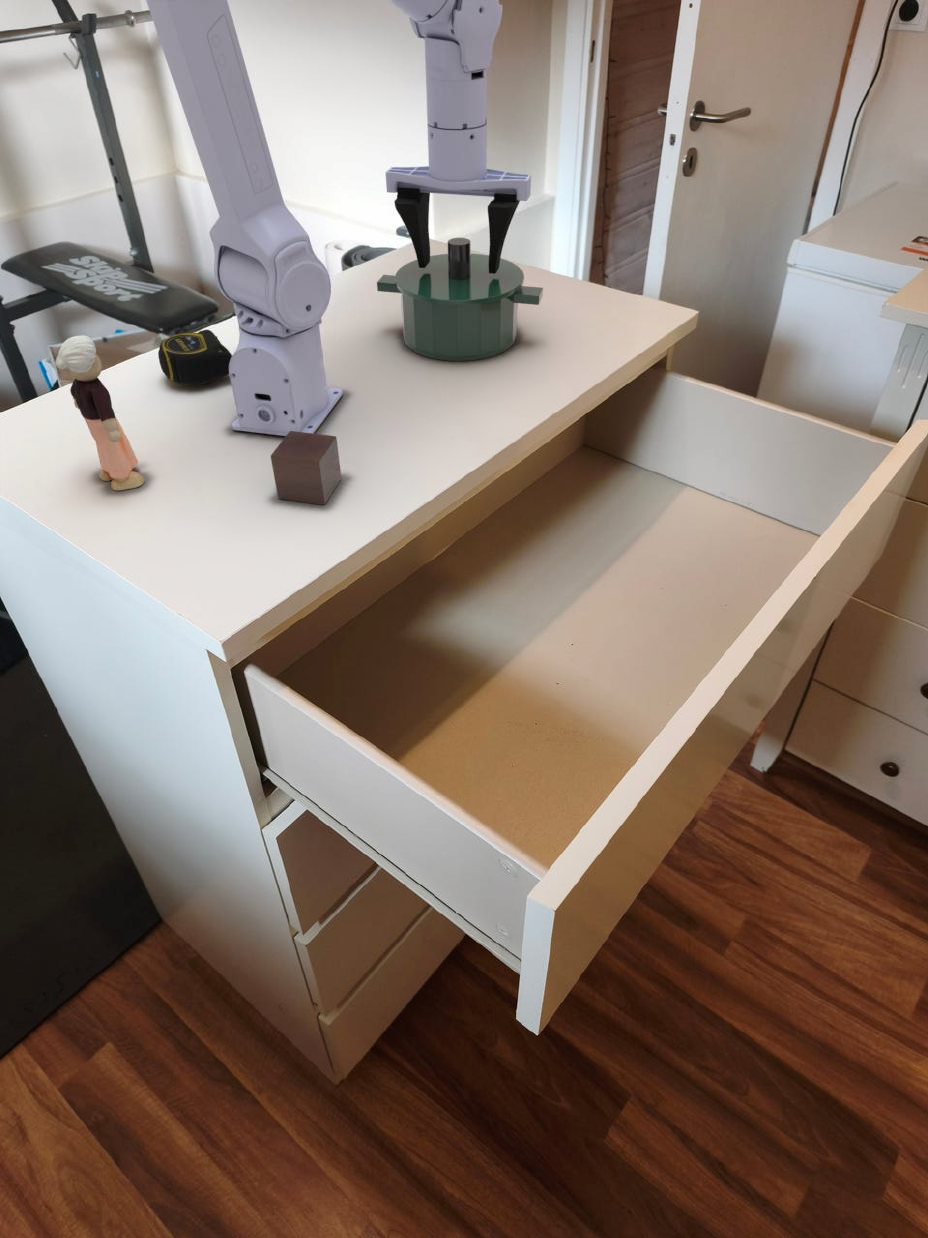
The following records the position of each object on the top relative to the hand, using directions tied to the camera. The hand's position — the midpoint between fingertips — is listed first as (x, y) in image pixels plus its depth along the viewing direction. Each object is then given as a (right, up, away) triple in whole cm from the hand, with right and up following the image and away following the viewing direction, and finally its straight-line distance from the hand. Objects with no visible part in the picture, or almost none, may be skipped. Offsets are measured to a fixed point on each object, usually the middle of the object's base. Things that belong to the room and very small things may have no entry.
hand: (459, 267), depth 91 cm
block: (-13, -26, -18) cm, 34 cm away
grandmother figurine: (-30, -25, -16) cm, 42 cm away
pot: (0, -6, +5) cm, 8 cm away
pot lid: (0, -1, 0) cm, 1 cm away
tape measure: (-27, -12, -1) cm, 29 cm away
